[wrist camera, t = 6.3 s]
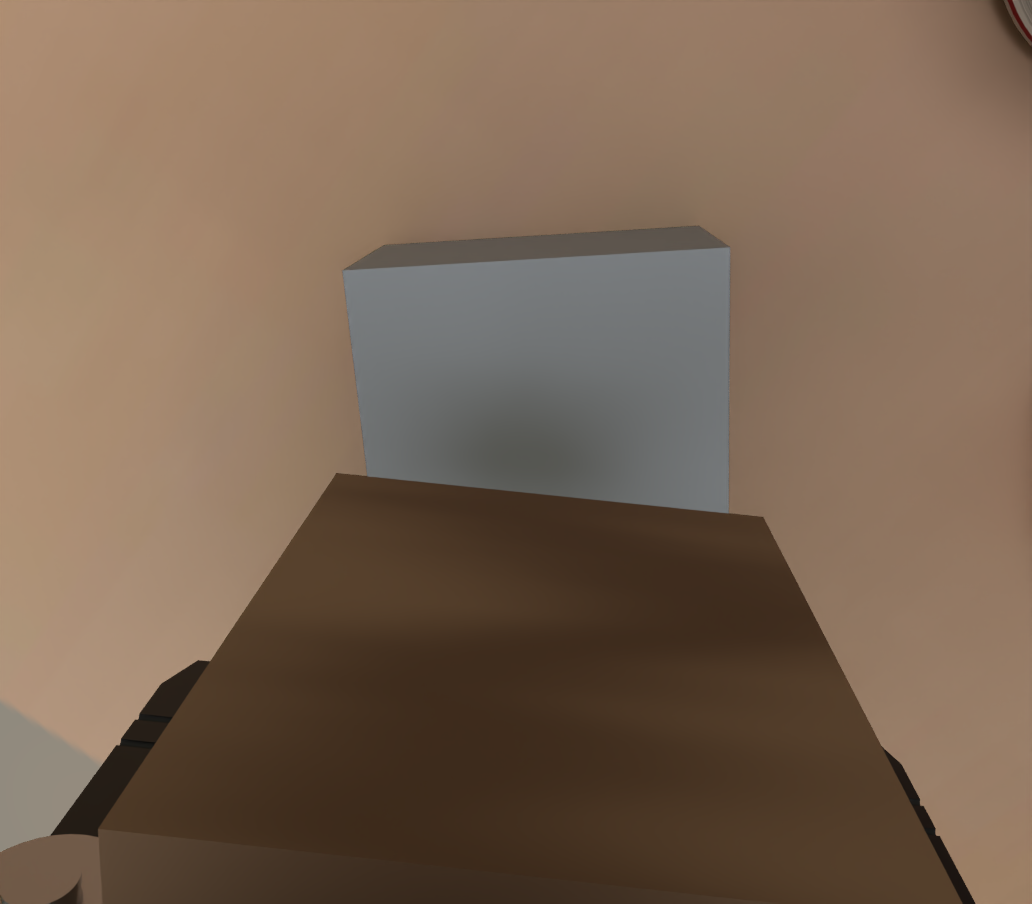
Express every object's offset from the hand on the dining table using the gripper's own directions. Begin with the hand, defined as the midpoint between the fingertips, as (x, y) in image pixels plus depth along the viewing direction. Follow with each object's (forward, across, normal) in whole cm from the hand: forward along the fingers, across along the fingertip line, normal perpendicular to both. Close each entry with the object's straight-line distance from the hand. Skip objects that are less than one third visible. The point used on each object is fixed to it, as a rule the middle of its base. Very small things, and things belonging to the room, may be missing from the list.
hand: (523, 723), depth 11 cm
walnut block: (+1, 0, 0) cm, 1 cm away
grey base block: (+15, 0, 0) cm, 15 cm away
